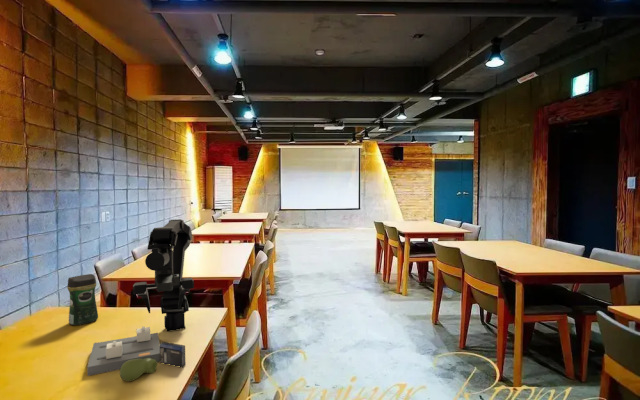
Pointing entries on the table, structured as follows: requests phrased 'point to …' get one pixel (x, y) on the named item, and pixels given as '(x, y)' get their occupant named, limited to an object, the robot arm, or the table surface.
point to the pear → (137, 368)
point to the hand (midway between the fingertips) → (164, 311)
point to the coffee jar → (82, 299)
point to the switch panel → (129, 352)
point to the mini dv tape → (172, 354)
